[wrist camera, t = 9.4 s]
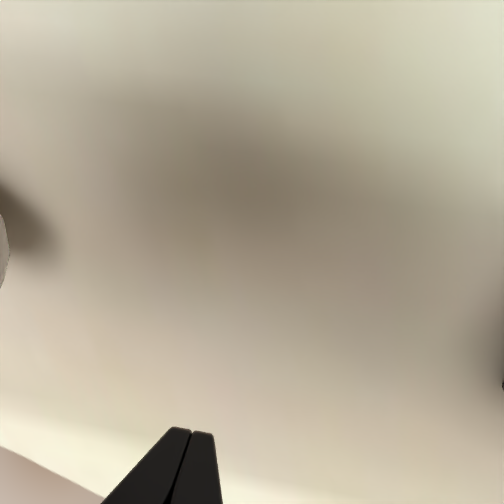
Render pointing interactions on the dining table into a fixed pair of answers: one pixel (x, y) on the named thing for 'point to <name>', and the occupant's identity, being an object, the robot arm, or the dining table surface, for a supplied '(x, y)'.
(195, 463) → the robot arm
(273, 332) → the dining table surface
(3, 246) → the donut
